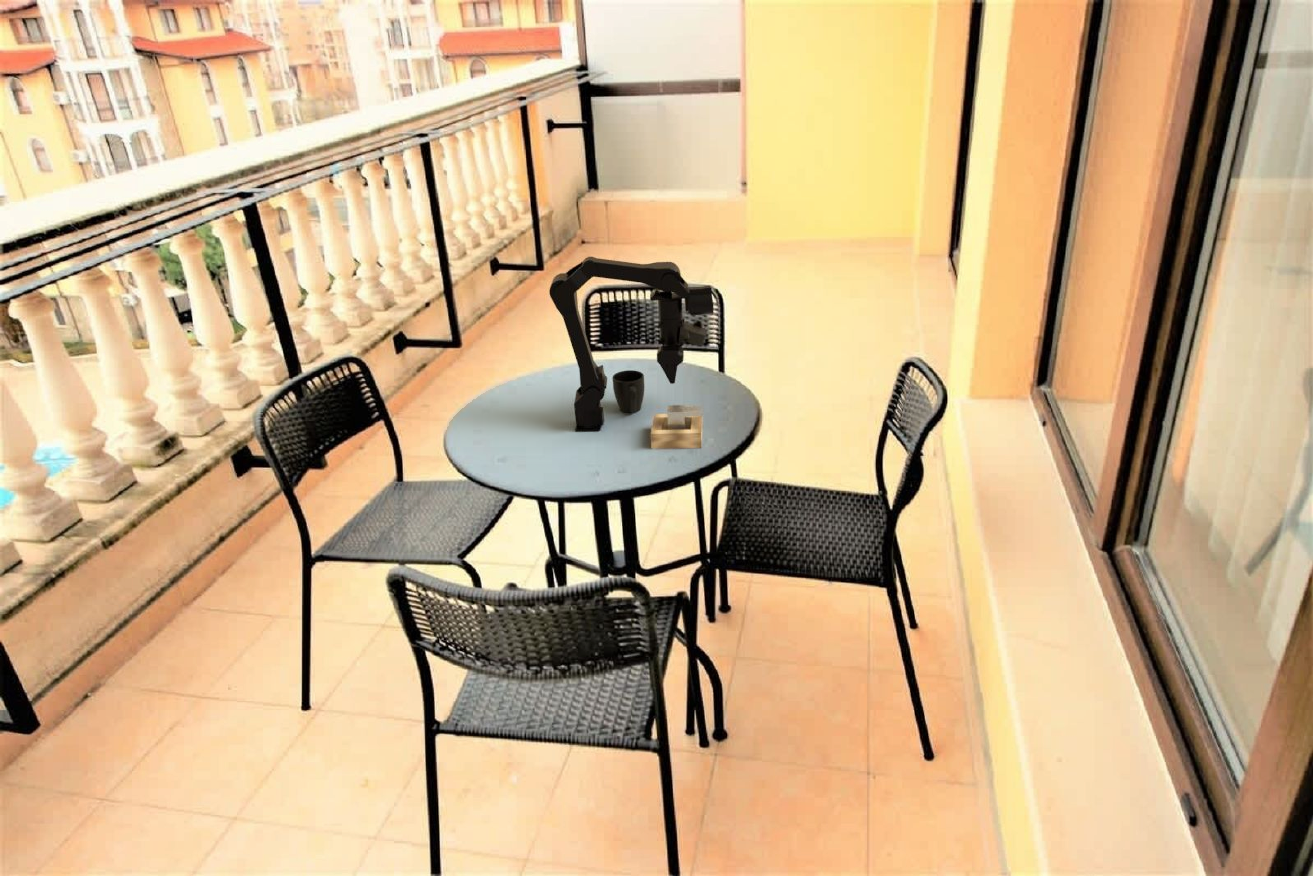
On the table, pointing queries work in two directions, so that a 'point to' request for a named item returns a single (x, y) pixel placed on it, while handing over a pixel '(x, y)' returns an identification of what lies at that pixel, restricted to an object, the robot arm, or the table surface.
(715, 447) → the table surface
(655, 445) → the well block
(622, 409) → the mug
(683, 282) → the robot arm
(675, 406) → the bracket
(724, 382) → the table surface
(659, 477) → the table surface
